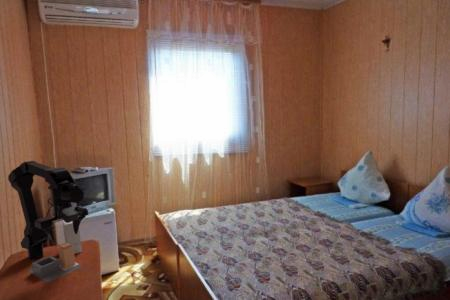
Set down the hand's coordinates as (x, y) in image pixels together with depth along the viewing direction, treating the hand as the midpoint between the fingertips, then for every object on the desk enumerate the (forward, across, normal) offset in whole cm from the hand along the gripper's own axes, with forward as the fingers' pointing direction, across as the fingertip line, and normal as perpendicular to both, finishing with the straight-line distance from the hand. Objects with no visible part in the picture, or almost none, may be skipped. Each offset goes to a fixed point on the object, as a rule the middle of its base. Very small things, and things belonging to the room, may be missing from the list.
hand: (64, 237), depth 123 cm
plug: (+12, 0, 0) cm, 12 cm away
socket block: (+13, -4, +2) cm, 14 cm away
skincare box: (+13, +9, +12) cm, 20 cm away
